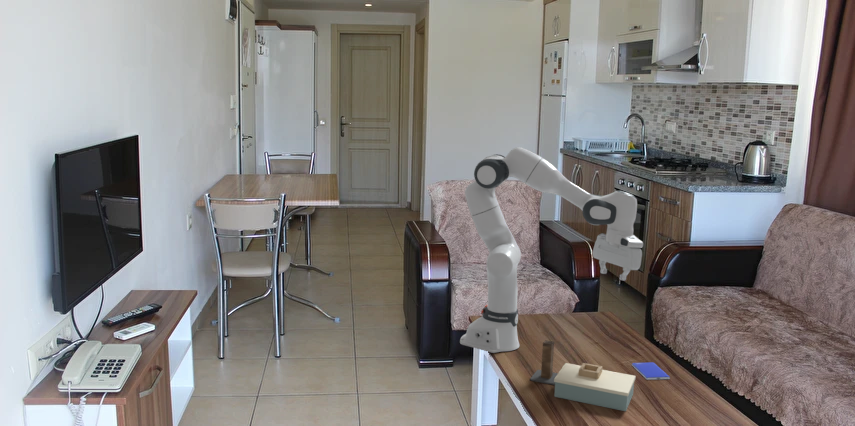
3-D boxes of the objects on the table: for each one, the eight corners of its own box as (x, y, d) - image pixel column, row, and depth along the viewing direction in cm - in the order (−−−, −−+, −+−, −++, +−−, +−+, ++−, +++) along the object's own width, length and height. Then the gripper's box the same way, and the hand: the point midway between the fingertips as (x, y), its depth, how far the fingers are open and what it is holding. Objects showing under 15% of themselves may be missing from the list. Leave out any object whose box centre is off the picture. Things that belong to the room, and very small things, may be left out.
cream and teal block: (553, 396, 217) (554, 372, 216) (564, 379, 230) (565, 357, 229) (626, 411, 208) (628, 386, 207) (634, 393, 221) (636, 369, 220)
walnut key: (540, 377, 231) (542, 343, 229) (543, 374, 234) (545, 340, 232) (549, 379, 230) (551, 344, 228) (552, 375, 232) (554, 341, 230)
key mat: (529, 380, 229) (530, 378, 229) (537, 370, 238) (537, 369, 237) (556, 385, 226) (556, 384, 226) (563, 375, 234) (563, 374, 234)
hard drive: (632, 362, 244) (646, 377, 232) (654, 362, 245) (670, 376, 233) (631, 367, 244) (646, 381, 232) (653, 366, 245) (669, 380, 233)
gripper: (591, 231, 248) (585, 269, 249) (633, 243, 230) (627, 284, 232) (604, 232, 251) (598, 269, 252) (647, 244, 233) (640, 284, 235)
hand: (612, 276), depth 242 cm, fingers open, 8 cm apart
